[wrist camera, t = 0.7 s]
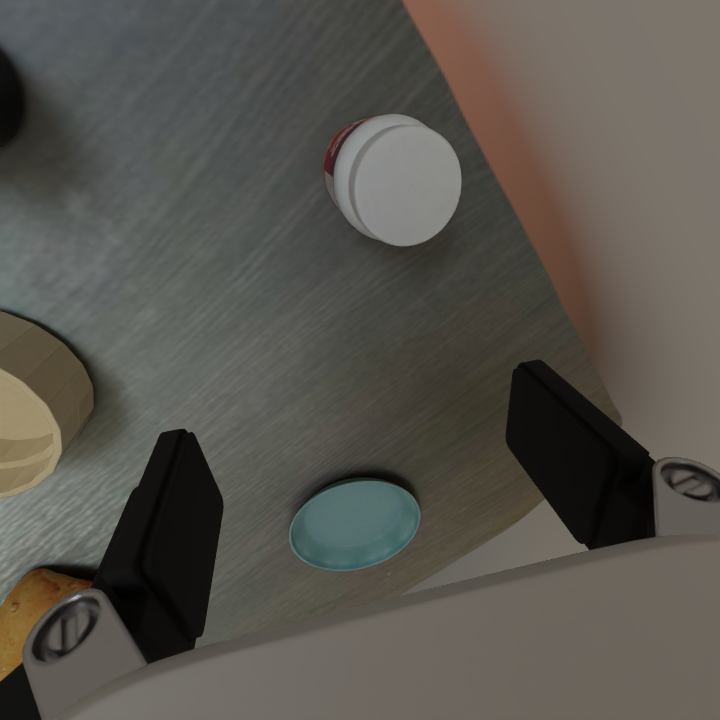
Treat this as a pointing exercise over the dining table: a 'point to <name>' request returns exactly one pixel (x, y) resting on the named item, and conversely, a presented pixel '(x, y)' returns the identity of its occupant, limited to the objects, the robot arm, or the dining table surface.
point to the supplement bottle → (9, 103)
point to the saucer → (354, 524)
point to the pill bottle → (393, 178)
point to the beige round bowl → (37, 403)
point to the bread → (30, 610)
